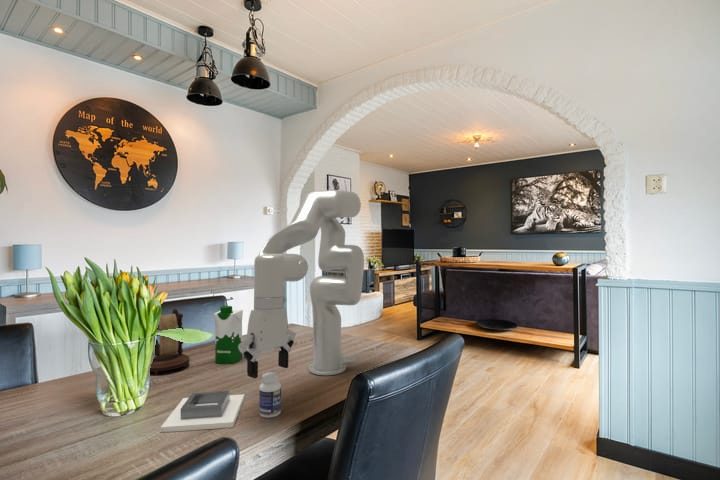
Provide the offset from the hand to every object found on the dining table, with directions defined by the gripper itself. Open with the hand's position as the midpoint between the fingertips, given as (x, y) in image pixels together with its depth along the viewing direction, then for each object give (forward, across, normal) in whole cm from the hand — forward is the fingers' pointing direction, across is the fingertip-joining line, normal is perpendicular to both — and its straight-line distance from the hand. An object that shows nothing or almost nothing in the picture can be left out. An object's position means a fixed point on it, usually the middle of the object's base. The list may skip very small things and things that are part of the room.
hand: (268, 371), depth 94 cm
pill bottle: (+11, -1, 0) cm, 11 cm away
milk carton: (+10, -19, -46) cm, 51 cm away
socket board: (+11, +9, -13) cm, 19 cm away
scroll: (+10, -2, -56) cm, 57 cm away
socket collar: (+10, +9, -13) cm, 19 cm away
